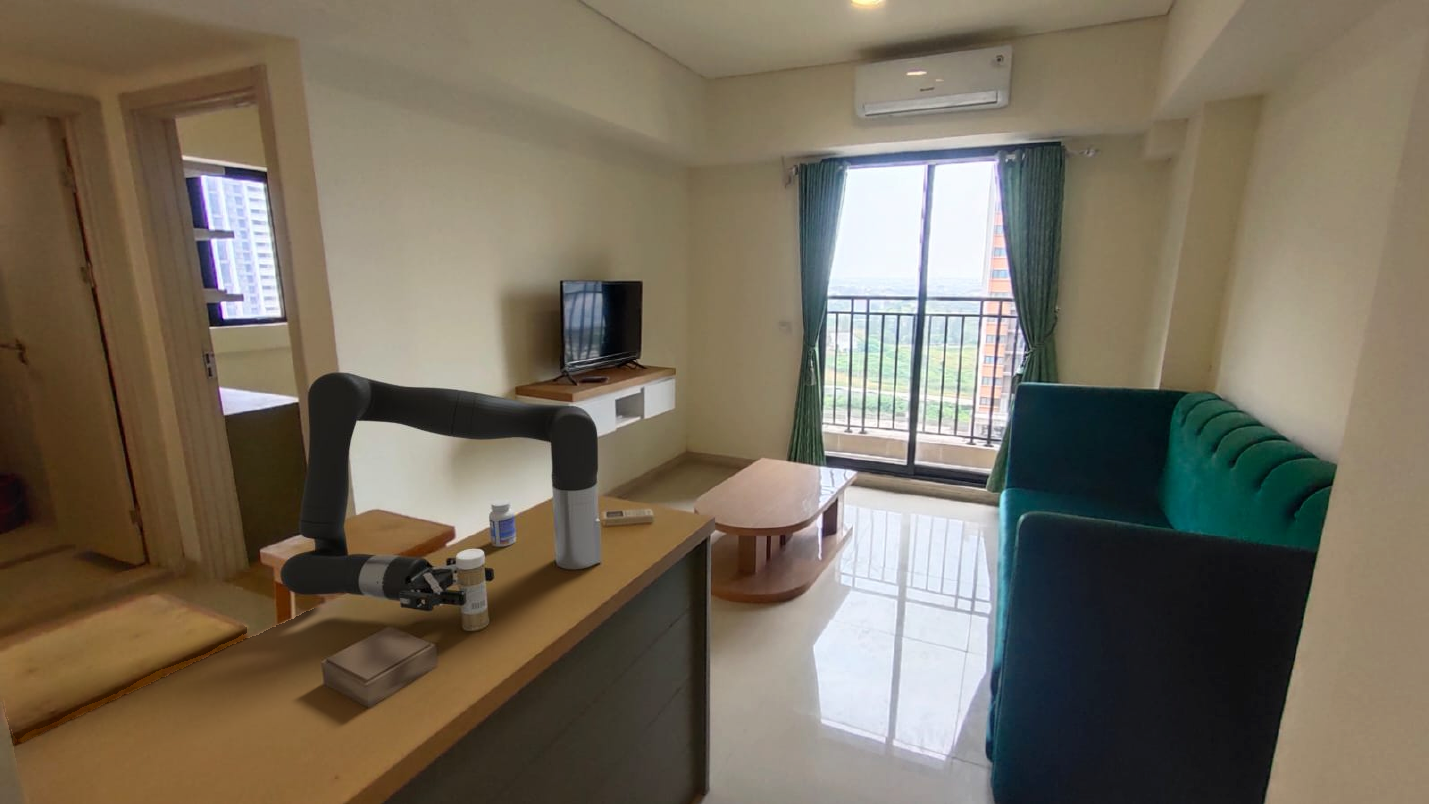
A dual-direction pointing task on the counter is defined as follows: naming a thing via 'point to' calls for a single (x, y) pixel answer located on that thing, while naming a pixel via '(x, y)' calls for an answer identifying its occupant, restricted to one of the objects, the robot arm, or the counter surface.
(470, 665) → the counter surface
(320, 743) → the counter surface
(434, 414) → the robot arm
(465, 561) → the sprinkles bottle
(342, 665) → the walnut plinth
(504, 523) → the pill bottle
